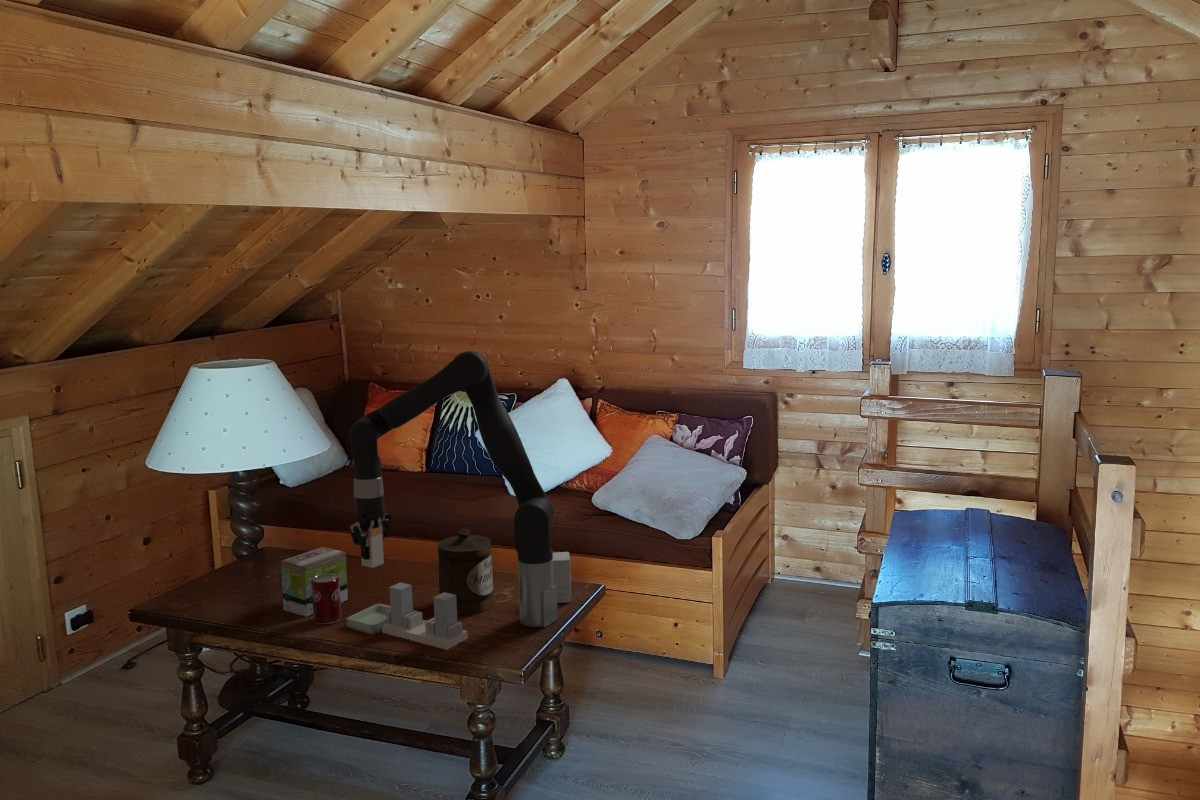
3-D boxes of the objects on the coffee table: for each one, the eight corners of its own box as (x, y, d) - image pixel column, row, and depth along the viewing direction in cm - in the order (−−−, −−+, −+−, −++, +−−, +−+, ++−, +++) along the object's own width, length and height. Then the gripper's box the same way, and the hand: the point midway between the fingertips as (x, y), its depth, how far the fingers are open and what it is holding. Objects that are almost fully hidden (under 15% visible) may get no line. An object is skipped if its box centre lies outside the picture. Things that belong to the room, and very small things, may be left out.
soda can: (313, 627, 247) (310, 583, 245) (314, 616, 254) (311, 574, 252) (341, 623, 249) (339, 580, 247) (341, 613, 256) (339, 571, 254)
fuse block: (467, 638, 238) (465, 593, 236) (447, 650, 231) (445, 603, 229) (403, 622, 249) (401, 579, 248) (382, 632, 243) (379, 588, 241)
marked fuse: (384, 563, 247) (382, 527, 246) (372, 567, 244) (370, 531, 242) (372, 560, 249) (370, 524, 248) (361, 565, 246) (359, 528, 244)
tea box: (307, 618, 253) (303, 566, 251) (283, 611, 259) (279, 560, 256) (349, 600, 266) (346, 550, 264) (325, 594, 271) (322, 545, 269)
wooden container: (483, 616, 252) (480, 538, 249) (432, 613, 255) (428, 535, 252) (500, 596, 267) (497, 522, 263) (451, 593, 270) (447, 520, 266)
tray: (406, 618, 252) (405, 609, 251) (373, 634, 242) (373, 625, 241) (378, 611, 257) (378, 603, 256) (346, 627, 247) (345, 618, 246)
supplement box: (571, 593, 268) (570, 551, 266) (571, 603, 261) (570, 559, 259) (545, 594, 268) (544, 552, 266) (544, 604, 260) (543, 560, 258)
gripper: (359, 501, 236) (363, 566, 238) (398, 489, 248) (402, 551, 250) (338, 498, 239) (342, 562, 242) (378, 485, 251) (381, 547, 254)
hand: (372, 556), depth 246 cm, fingers closed on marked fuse, 4 cm apart
